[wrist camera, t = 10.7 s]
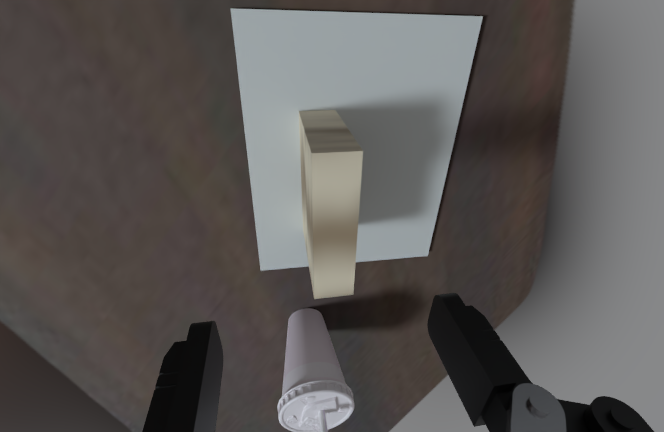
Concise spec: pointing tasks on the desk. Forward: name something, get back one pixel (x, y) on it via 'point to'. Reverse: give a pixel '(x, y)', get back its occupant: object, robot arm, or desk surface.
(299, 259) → the mat
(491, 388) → the robot arm
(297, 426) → the smoothie
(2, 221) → the desk surface
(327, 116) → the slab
